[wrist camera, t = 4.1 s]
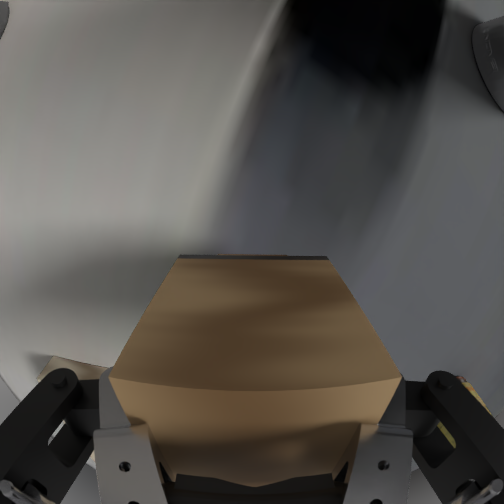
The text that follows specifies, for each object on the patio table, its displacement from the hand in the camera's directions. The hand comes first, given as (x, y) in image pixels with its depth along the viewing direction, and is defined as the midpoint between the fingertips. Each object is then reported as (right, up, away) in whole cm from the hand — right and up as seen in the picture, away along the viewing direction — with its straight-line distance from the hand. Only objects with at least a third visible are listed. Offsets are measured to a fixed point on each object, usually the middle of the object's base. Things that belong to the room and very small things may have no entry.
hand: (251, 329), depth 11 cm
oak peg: (0, +1, +4) cm, 4 cm away
